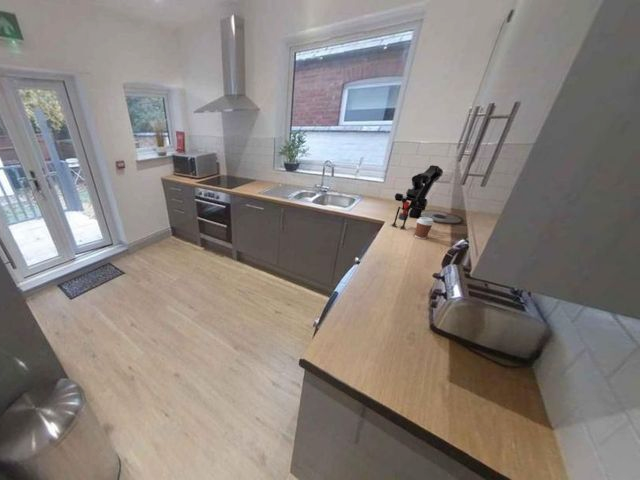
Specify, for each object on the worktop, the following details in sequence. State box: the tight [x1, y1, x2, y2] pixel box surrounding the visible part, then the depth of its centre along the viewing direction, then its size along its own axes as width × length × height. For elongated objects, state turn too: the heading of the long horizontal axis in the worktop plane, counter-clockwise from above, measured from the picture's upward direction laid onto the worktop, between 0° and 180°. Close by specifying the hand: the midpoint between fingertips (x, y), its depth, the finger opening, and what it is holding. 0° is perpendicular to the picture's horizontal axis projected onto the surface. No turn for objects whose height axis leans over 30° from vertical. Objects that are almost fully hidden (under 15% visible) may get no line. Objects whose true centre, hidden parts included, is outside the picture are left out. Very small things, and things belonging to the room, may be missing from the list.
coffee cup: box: [413, 216, 435, 240], centre depth 157 cm, size 9×9×12 cm
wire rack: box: [391, 206, 410, 230], centre depth 170 cm, size 2×8×14 cm, turn 39°
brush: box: [397, 201, 410, 221], centre depth 169 cm, size 6×5×12 cm
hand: (404, 210), depth 169 cm, fingers closed on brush, 2 cm apart
